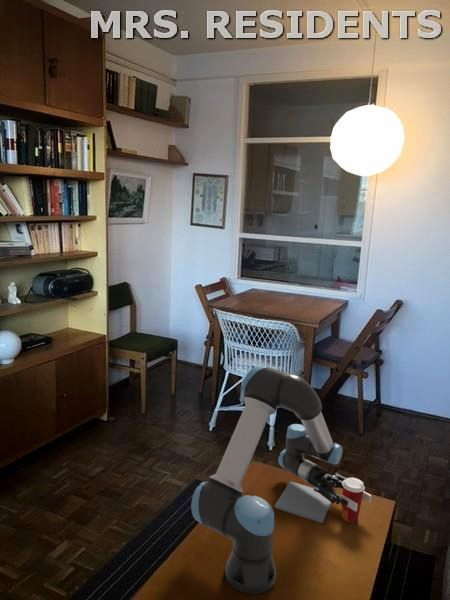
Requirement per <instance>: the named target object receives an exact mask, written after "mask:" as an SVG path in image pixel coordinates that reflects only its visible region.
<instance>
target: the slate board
mask: <svg viewBox="0 0 450 600" xmlns="http://www.w3.org/2000/svg"><path fill="white" fill-rule="evenodd" d="M331 498H332V497H331ZM331 505H332V503H331V502H330V501H329V500H328V499H326V498H325V497H324V496H322V495H321V494H320V493H318V492H316V491H314V487H311V486H307V485H304V484H300V483H297V482H293V481H291V480H290V481H289V482H288V484H287V485H286V487H285V489H284V490H283V492H282V493H281V495H280V496H279V498H278V500H277V501H276V503H274V506H273V507H274V509H277V510H280V511H282V512H286V513H288V514H289V513H290V514H292V515H296V516H299V517H302V518H304V519H308V520H311V521H315V522H317V523H321V524H323V523H324V521H325V519H326V516H327V514H328V511H329V510H330V507H331Z"/></svg>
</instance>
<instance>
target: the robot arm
mask: <svg viewBox="0 0 450 600" xmlns="http://www.w3.org/2000/svg"><path fill="white" fill-rule="evenodd" d="M241 390H242V394H243V395H244V396H243V401H244V405H245V406H244V407H243V410H242V412H241V415H240V417H239V419H238V422H237V424H236V427H235V429H234V431H233V433H232V435H231V437H230V440H229V442H228V445H227V447H226V450H225V452H224V455H222V459H221V461H220V464H219V466H218V468H217V470H216V473H214V474H212V475H210V476H209V477H208V479H207V481H202V482H201V483H199V485H198V486H197V487H196V488H195V490H194V492H193V495H192V497H191V498H192V499H191V507H190V508H191V514H192V516H193V519H195V521H197V522H198V523H199V524H201V525H202V526H204V527H207V528H209V529H210V530H212V531H215V532H217V533H218V534H219V535H222V536H224V537H226V538H229V539H230V540H232V541H233V542H232V550H231V553H229V554H230V555H229V557H228V559H227V562H226V564H225V577H226V581H227V582H228V584H229V585H230V586H231V587H232V588H233V589H235V590H236V591H239V592H241V593H243V594H247V595H260V594H264V593H265V592H267V591H269V590H271V588H272V587H274V585H275V583H276V578H277V568H276V565H275V560H274V558H273V552H272V551H273V541H274V532H275V531H274V529H275V512H274V509H273V507H272V506H271V504H270V503H269V502H268V501H267V500H265V499H264V498H263V497H260V496H258V495H252V496H251V495H250V494H246V495H243V493H244V491H243V488H242V482H243V481H244V478H245V475H246V473H247V471H248V468H249V466H250V464H251V461H252V460H253V456H254V454H255V451H256V449H257V447H258V443H259V441H260V439H261V436H262V435H263V434H262V433H263V432H264V429H265V427H266V424H267V421H268V420H269V417H270V416H271V415H273V414H275V413H276V412H277V410H278V408H282V409H285V410H288V411H291V412H292V413H294V414H295V415H294V416H296V418H298V419H299V420H300V421H301V423H302V424H300V423H299V424H298V423H293V424H290V425H289V426H288V427H287V432H286V437H285V438H286V439H285V441H286V443H285V448H284V449H283V450H281V452H280V454H279V456H278V460H277V462H278V464H279V466H280V467H282V468H283V469H284V470H285V471H287V472H289V473H291V474H292V475H294V476H297V477H298V478H300V479H301V480H303V481H305V482H306V483H308V484H309V485H311V486H312V487H313V488H314V491H316V492H318V493H320V494H321V495H322V496H324V497H325V498H326V499H328V500H329V501H330V502H331V504H336V505H340V504H341V505H342V504H343V505H345V506H347V507H349V508H351V509H352V510H354V511H357V506H358V504H357V503H356V502H354V501H352V500H351V499H349V498H347V497H345V496H344V495H343V494H341V495H340V494H339V492H337V490H336V489H338V488H339V489H342V490H343V485H342V482H343V481H344V480H345V479H346V478H347V477H345V476H343V475H341V474H340V473H339V472H335V473H334V475H332V474H330V473H328V472H327V471H326V469H325V468H324V467H322V466H319V465H318V464H317V463H314V462H312V461H311V460H309V459H307V458H305V455H308V456H309V457H312V458H316V459H317V460H320V461H324V462H326V463H328V464H332V465H338V464H339V463H340V460H341V458H342V455H343V447H342V445H340V444H338V443H336V442H333V439H332V437H331V434H330V431H329V428H328V426H327V423H326V421H325V419H324V418H325V417H324V415H323V413H322V409H323V405H322V401H321V399H320V397H319V395H318V394H317V392H316V391H315V389H314V388H313V387H312V386H311V385H310V384H309V382H307V381H306V380H305V379H303V378H302V377H301V376H299V375H297V374H293V373H289V372H286V371H282V370H279V369H275V368H271V367H269V366H262V365H257V366H255V367H252V368H251V369H250V370H249V371H248V372H247V373H246V375H245V377H244V379H243V381H242V386H241ZM331 497H332V498H331ZM362 500H363V501H365V502H367V503H371V502H372V495H371V494H370V493H368V492H366V491H365V490H364V491H363V496H362Z"/></svg>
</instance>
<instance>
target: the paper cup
mask: <svg viewBox="0 0 450 600" xmlns="http://www.w3.org/2000/svg"><path fill="white" fill-rule="evenodd" d="M342 485H343V489H342V495H344V496H345V497H347V498H349V499H351V500H352V501H354V502H356V503H357V504H358V506H357V511H354V510H352V509H351V508H349V507H347V506H345V505H343V504H341V517H342V520H344V521H345V522H347V523H357V522H358V520H359V516H360V515H359V514H360V510H361V506H362V505H361V504H362V501H363V499H362V496H363V491H365V485H364V482H363V481H362V480H360V479H359V478H356V477H346V479H345V480H344V481H343V482H342Z"/></svg>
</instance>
